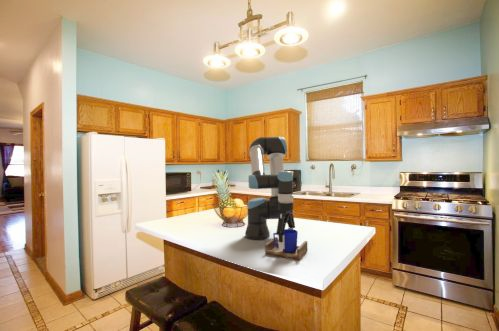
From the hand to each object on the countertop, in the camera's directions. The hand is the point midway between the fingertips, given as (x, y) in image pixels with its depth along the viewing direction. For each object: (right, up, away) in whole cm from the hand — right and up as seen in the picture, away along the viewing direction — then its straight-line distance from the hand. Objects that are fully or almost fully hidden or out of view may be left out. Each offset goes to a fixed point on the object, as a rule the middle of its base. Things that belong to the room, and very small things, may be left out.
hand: (286, 244), depth 125 cm
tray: (0, -4, 0) cm, 4 cm away
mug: (0, -3, -1) cm, 4 cm away
